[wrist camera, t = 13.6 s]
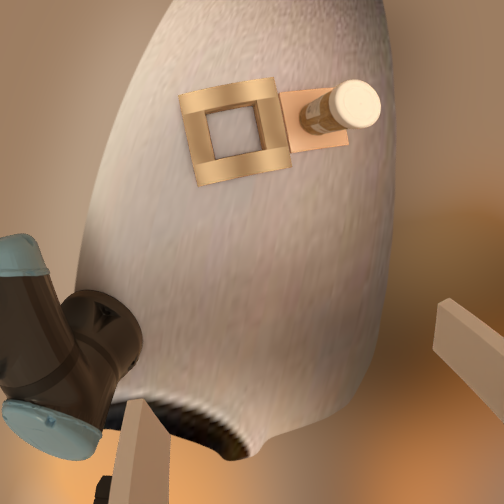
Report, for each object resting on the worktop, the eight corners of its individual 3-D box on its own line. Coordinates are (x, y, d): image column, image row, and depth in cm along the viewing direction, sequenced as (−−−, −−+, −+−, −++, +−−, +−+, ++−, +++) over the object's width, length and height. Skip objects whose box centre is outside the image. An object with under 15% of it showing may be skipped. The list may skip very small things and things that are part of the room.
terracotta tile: (290, 153, 37) (291, 153, 36) (278, 93, 34) (279, 92, 33) (346, 144, 37) (348, 144, 36) (335, 88, 34) (337, 87, 33)
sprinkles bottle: (313, 142, 36) (357, 138, 23) (290, 114, 34) (325, 95, 22) (338, 122, 35) (391, 111, 22) (317, 95, 34) (361, 69, 21)
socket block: (200, 183, 37) (197, 186, 33) (182, 101, 33) (178, 95, 29) (284, 165, 37) (292, 167, 33) (268, 84, 33) (273, 76, 30)
